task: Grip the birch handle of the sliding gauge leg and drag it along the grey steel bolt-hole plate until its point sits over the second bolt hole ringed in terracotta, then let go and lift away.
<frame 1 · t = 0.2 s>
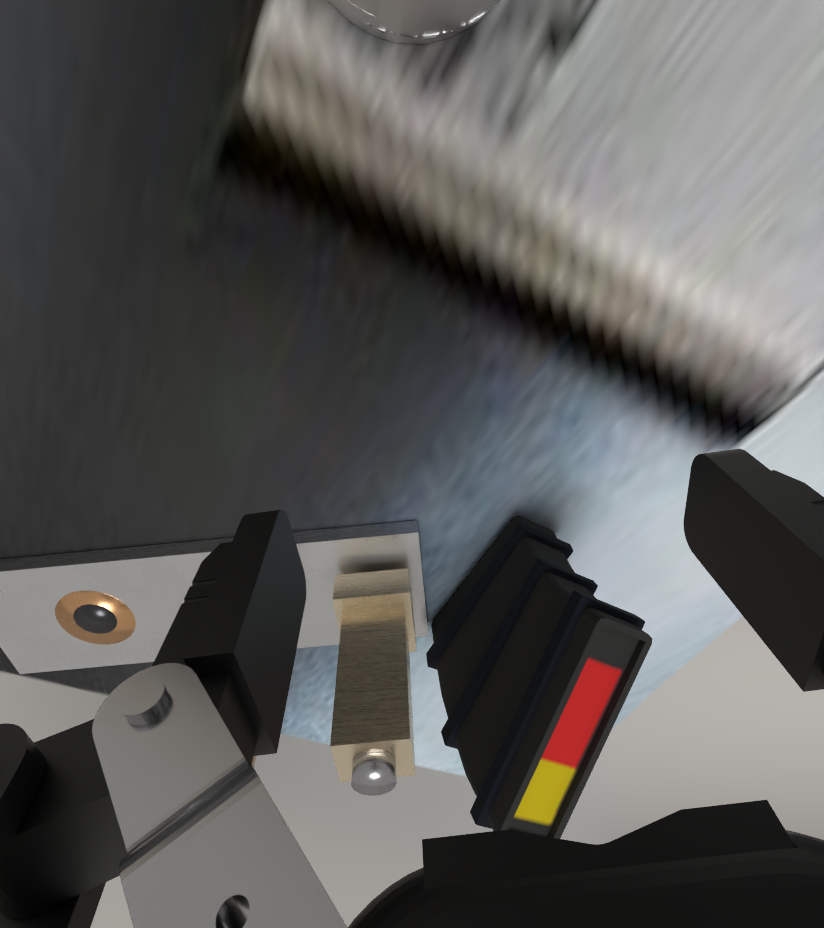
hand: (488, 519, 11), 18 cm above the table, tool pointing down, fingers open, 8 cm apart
black boxy piece: (497, 564, 35), on the table
bolt-hole plate: (210, 594, 35), on the table
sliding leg: (228, 687, 29), point 7 cm above the table, slide at 0.0 cm
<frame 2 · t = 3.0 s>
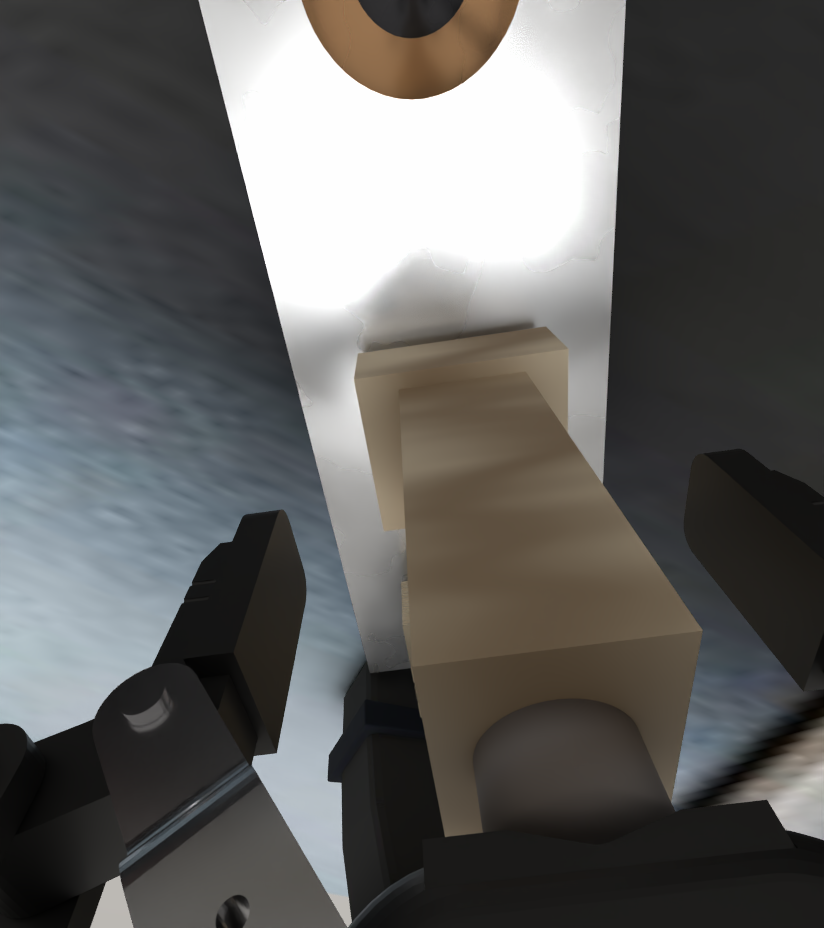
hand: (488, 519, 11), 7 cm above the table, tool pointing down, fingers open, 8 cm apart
black boxy piece: (484, 707, 25), on the table
bolt-hole plate: (441, 293, 15), on the table
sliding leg: (489, 523, 10), point 7 cm above the table, slide at 0.0 cm
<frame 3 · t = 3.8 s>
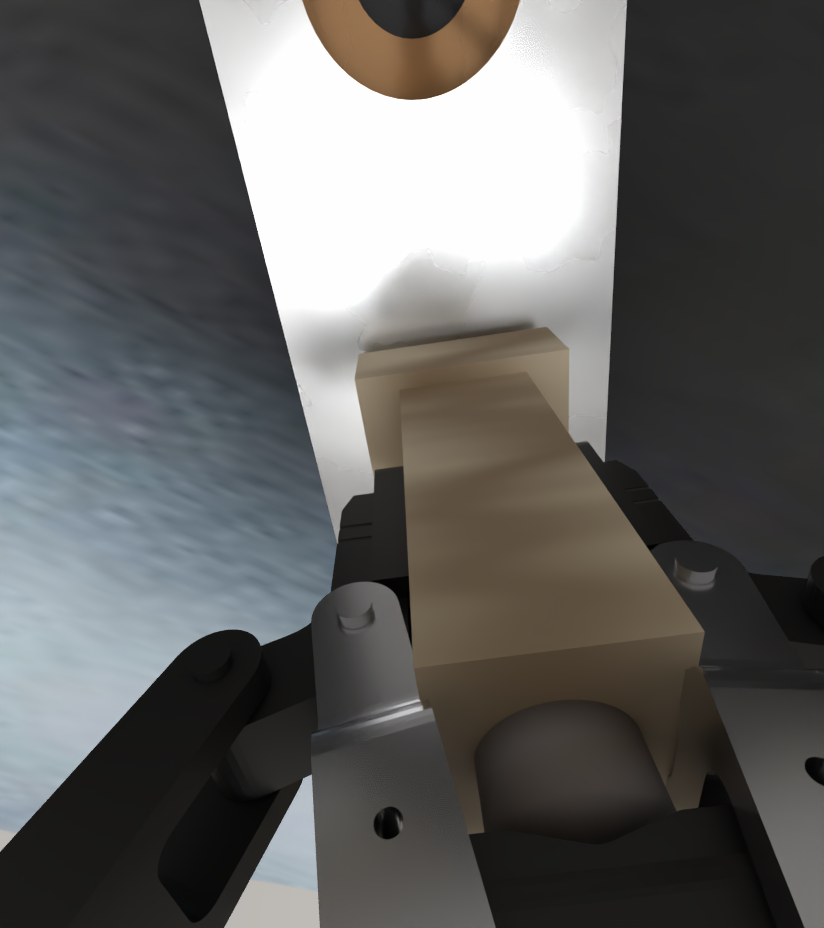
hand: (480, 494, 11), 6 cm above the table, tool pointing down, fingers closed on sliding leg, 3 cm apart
bolt-hole plate: (442, 294, 15), on the table
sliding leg: (490, 523, 10), point 7 cm above the table, slide at 0.0 cm, touching gripper
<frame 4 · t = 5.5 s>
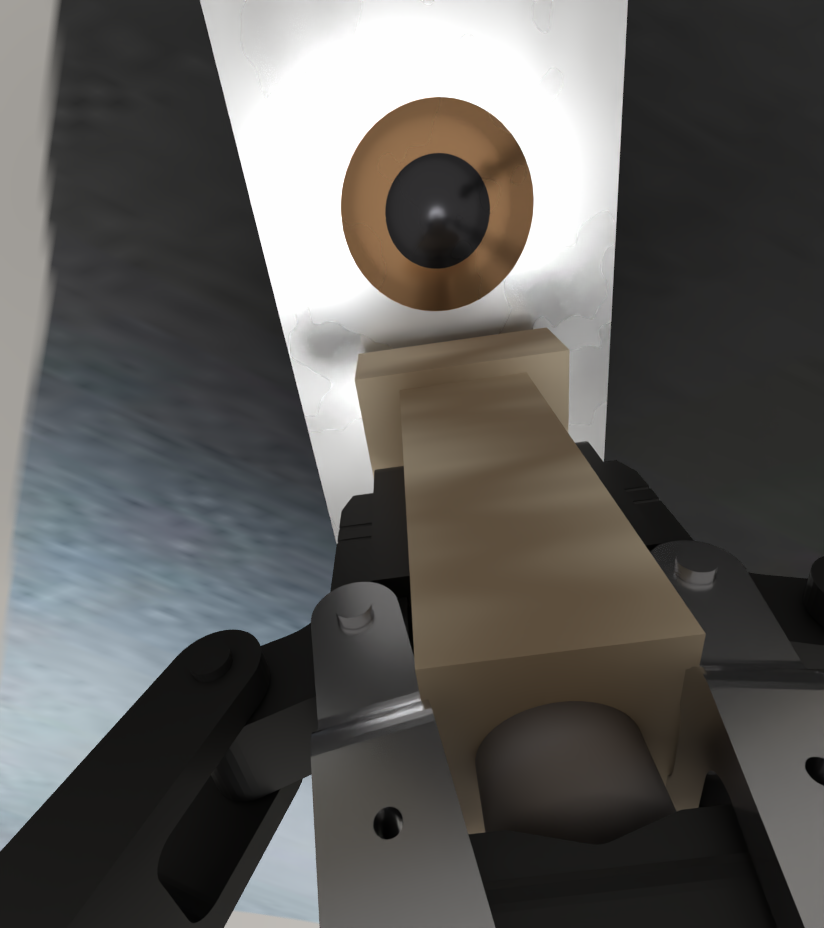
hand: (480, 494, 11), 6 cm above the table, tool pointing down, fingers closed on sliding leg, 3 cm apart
bolt-hole plate: (456, 440, 18), on the table
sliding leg: (490, 524, 10), point 7 cm above the table, slide at 4.8 cm, touching gripper
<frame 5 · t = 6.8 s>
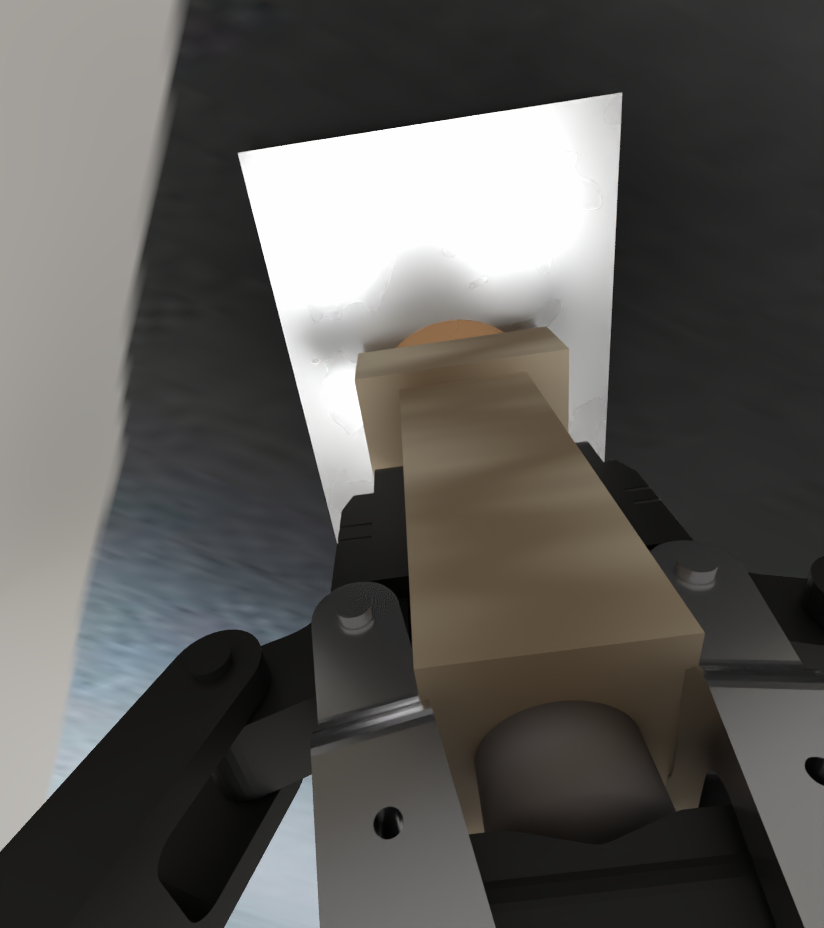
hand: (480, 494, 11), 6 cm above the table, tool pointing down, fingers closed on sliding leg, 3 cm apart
bolt-hole plate: (469, 558, 20), on the table
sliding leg: (490, 523, 10), point 7 cm above the table, slide at 9.9 cm, touching gripper
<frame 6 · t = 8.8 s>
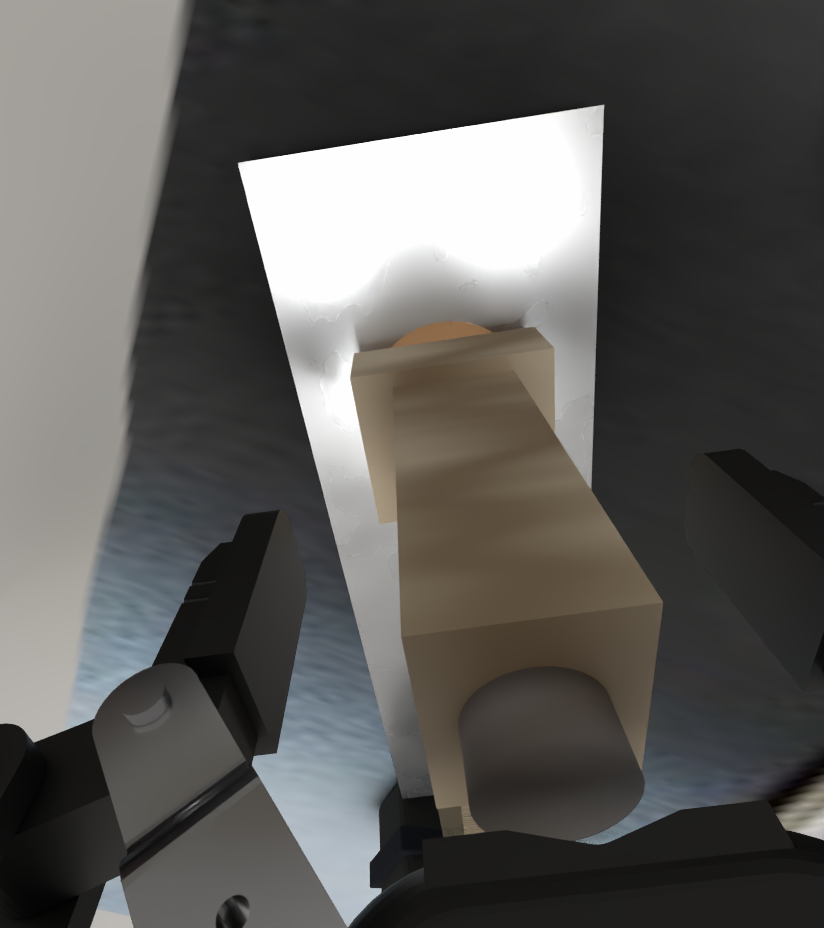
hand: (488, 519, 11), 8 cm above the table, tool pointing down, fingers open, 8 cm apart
black boxy piece: (492, 811, 30), on the table
bolt-hole plate: (463, 553, 21), on the table
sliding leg: (478, 513, 11), point 7 cm above the table, slide at 9.9 cm
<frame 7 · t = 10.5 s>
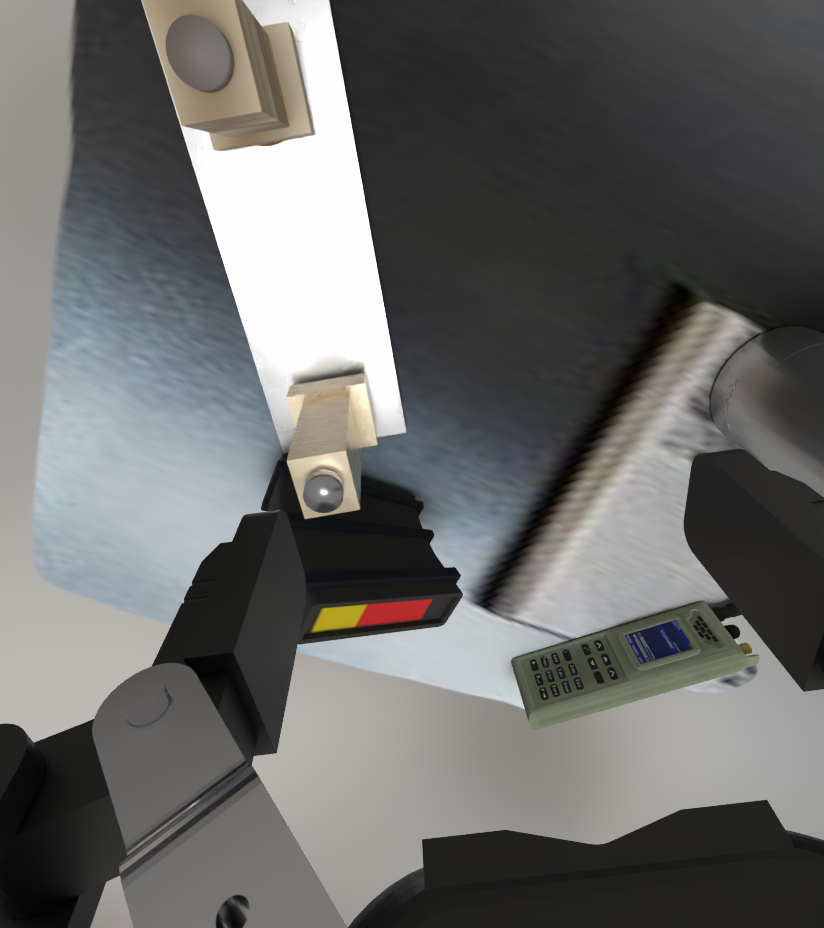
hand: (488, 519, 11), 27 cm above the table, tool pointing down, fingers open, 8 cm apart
handheld radio: (634, 626, 52), on the table
black boxy piece: (359, 490, 42), on the table
bolt-hole plate: (296, 233, 32), on the table
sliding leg: (234, 78, 23), point 7 cm above the table, slide at 9.9 cm
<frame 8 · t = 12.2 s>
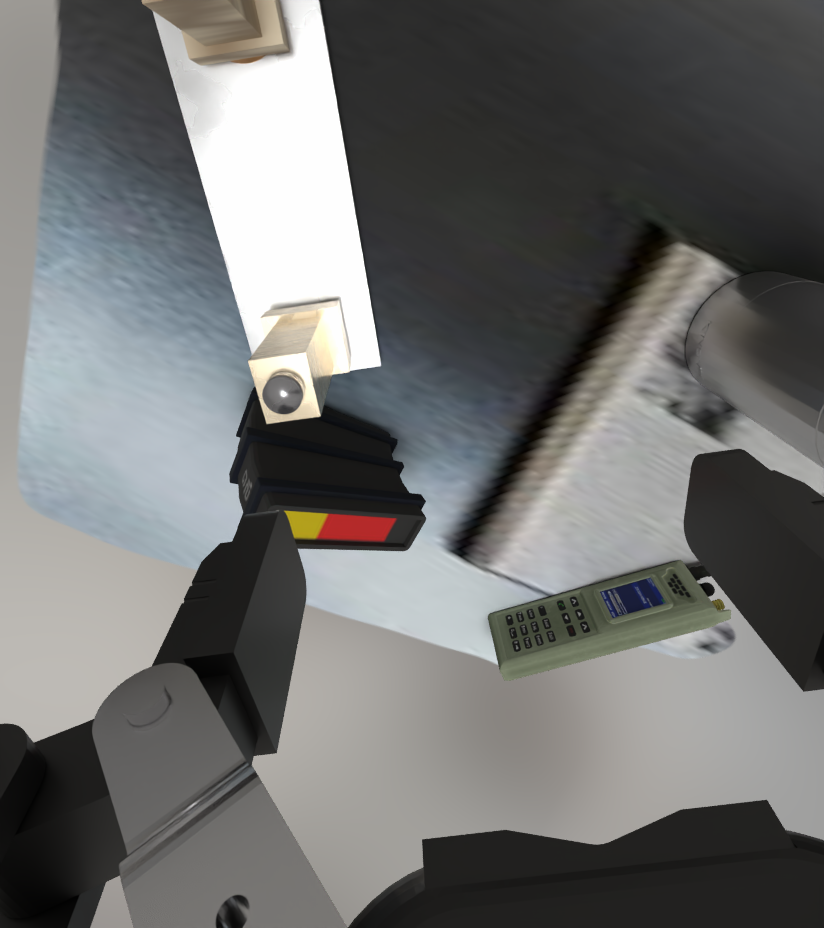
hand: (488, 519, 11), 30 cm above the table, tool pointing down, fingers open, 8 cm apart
handheld radio: (610, 585, 52), on the table
black boxy piece: (335, 427, 43), on the table
bolt-hole plate: (274, 156, 33), on the table
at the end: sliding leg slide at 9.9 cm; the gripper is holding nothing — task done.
